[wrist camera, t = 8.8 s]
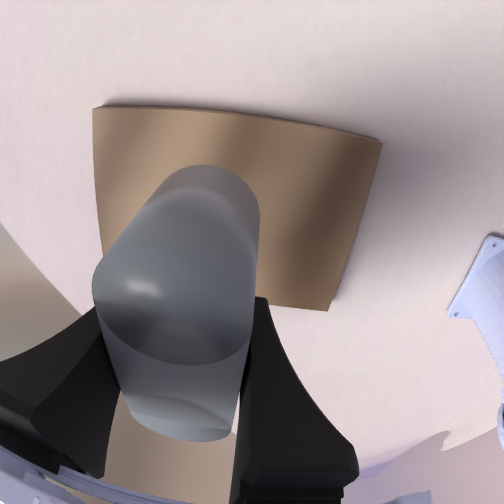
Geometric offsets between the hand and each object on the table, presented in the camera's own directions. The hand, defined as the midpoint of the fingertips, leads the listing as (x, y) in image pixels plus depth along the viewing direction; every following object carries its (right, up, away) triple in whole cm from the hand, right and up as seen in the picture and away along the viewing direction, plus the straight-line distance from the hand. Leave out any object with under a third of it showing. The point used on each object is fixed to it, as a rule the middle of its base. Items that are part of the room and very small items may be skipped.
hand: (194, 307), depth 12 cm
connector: (0, 0, +2) cm, 2 cm away
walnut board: (0, +5, +7) cm, 8 cm away
